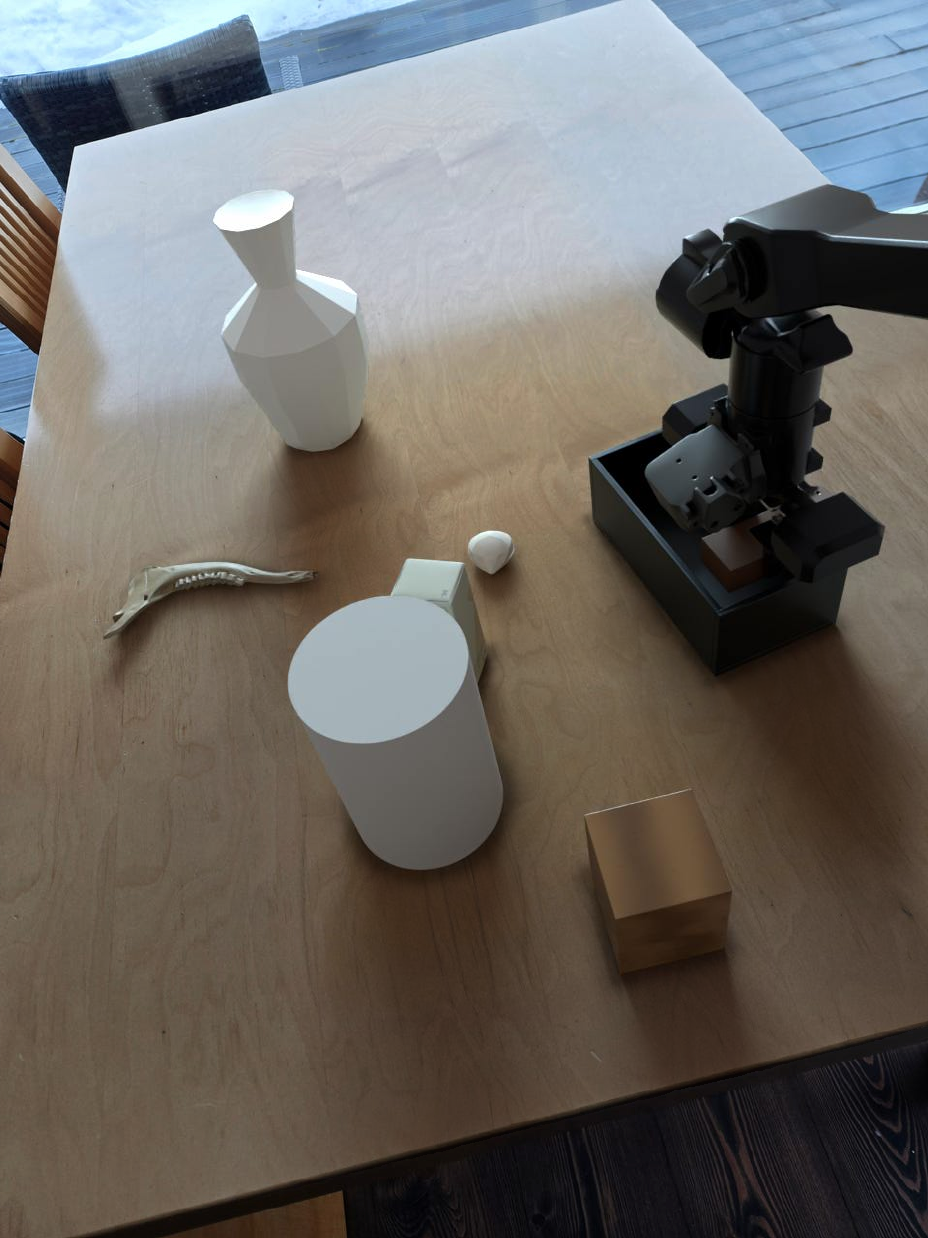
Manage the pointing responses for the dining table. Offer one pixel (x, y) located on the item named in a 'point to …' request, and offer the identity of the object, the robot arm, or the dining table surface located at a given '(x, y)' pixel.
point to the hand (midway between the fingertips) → (754, 557)
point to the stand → (658, 880)
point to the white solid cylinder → (400, 728)
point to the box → (446, 599)
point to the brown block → (735, 554)
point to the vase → (293, 329)
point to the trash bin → (700, 569)
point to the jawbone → (191, 584)
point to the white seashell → (491, 550)
